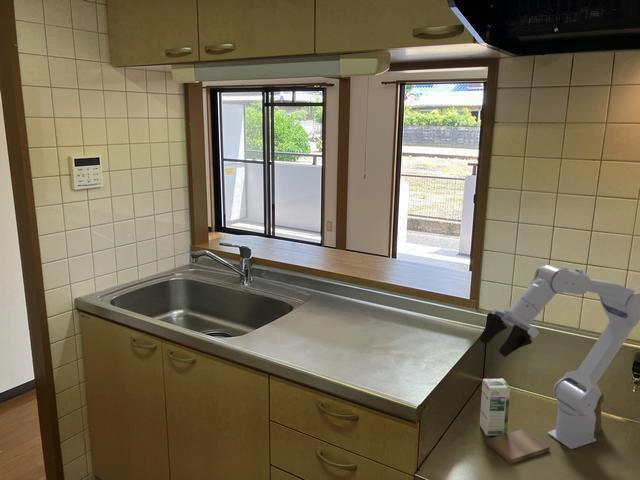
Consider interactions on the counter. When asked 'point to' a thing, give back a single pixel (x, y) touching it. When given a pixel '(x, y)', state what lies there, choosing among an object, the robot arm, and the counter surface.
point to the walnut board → (517, 445)
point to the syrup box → (494, 407)
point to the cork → (598, 413)
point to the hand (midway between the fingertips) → (491, 347)
